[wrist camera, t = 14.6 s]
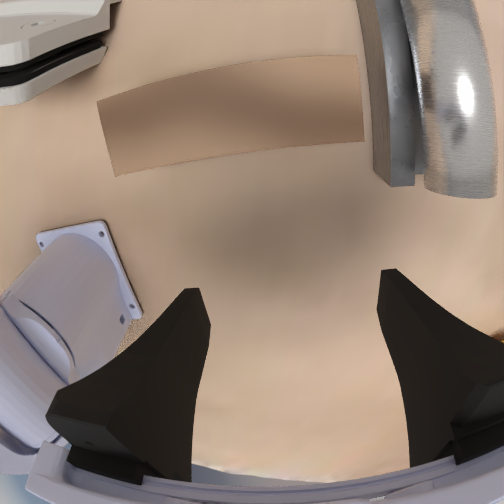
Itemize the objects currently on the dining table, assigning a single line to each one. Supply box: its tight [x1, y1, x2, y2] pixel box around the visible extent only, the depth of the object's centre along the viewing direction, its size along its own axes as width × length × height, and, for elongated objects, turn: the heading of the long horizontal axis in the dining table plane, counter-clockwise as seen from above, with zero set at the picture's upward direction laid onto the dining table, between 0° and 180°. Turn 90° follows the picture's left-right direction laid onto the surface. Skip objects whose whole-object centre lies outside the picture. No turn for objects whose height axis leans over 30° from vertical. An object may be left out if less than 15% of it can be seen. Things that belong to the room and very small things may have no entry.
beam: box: [97, 55, 364, 177], centre depth 14 cm, size 4×12×5 cm, turn 99°
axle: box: [400, 0, 498, 199], centre depth 10 cm, size 10×4×4 cm, turn 8°
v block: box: [356, 0, 424, 187], centre depth 13 cm, size 12×6×3 cm, turn 9°
